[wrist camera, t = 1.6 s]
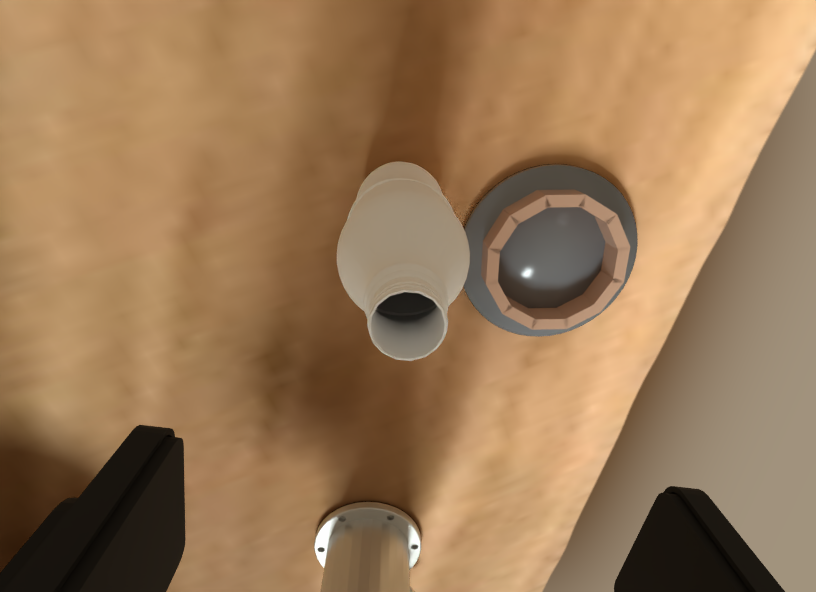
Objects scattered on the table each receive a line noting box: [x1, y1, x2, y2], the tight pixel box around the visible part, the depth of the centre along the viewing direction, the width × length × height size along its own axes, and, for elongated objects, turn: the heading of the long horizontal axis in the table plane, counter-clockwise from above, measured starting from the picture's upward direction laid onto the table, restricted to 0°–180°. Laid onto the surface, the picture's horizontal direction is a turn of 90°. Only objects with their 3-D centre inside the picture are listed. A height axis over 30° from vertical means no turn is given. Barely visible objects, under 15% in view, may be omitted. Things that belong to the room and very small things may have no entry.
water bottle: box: [337, 161, 470, 361], centre depth 29 cm, size 7×7×25 cm
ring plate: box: [464, 164, 637, 336], centre depth 41 cm, size 16×16×4 cm
